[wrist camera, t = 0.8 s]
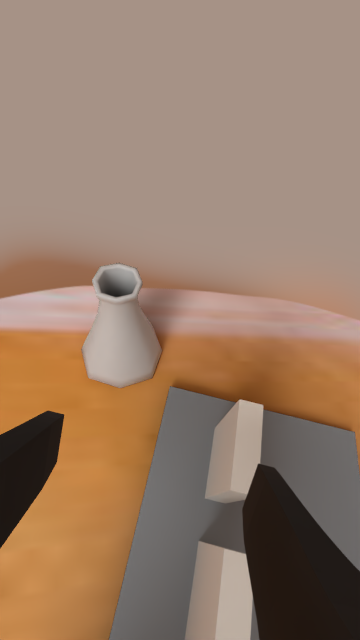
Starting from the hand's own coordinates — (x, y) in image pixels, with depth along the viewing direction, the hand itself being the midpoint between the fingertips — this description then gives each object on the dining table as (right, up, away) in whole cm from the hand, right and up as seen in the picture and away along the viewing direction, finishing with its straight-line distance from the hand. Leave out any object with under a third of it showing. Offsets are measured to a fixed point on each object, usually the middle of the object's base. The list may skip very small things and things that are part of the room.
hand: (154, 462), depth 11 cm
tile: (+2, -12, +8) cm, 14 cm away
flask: (-4, +2, +17) cm, 18 cm away
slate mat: (+6, -10, +11) cm, 16 cm away
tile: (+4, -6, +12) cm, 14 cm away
